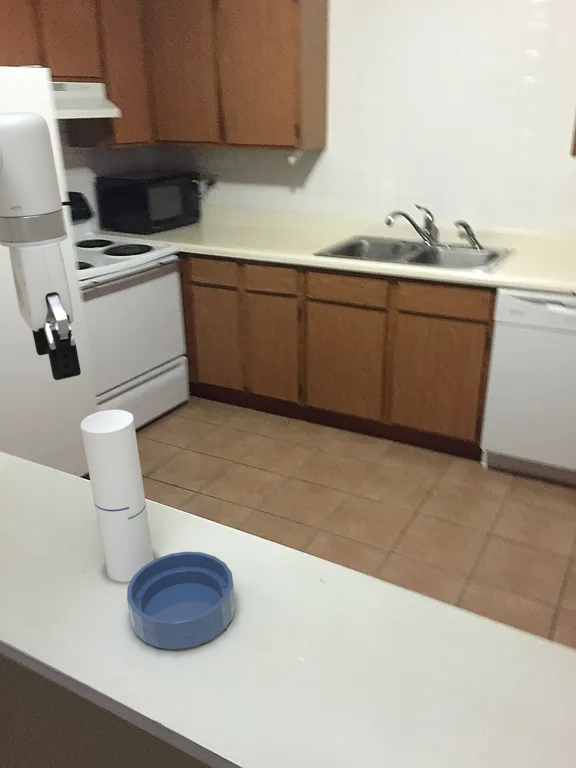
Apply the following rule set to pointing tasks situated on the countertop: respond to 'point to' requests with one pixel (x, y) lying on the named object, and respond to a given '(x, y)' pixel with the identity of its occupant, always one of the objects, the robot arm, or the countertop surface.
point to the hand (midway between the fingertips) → (58, 364)
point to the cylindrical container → (118, 492)
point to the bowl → (181, 600)
